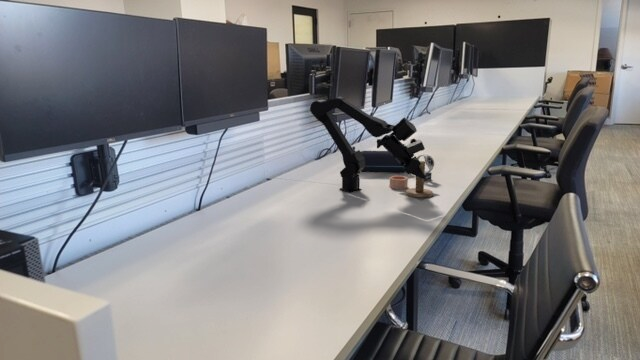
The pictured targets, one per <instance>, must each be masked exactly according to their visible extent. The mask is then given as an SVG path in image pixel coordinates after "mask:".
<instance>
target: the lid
mask: <svg viewBox="0 0 640 360" xmlns="http://www.w3.org/2000/svg"><path fill="white" fill-rule="evenodd" d="M419 161H420V162H421V164H420V165H419V167H420V169H421V170H422V172H423V173H424V174H425V171H426V163H425V160H424V161H422V160H419ZM424 184H425V181H424V179H422V178H420V177H417V176H415V187H414V188H413V187H412V188H408V189H406V190H405V192H406V194H407V195H408V196H411V197H417V198H427V197H431V196H432V195H433V193H434V192H433V191H432V190H431V189H427V188H425V185H424ZM411 197H410V198H411Z"/></svg>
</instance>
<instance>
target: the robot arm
mask: <svg viewBox="0 0 640 360" xmlns="http://www.w3.org/2000/svg"><path fill="white" fill-rule="evenodd" d="M334 109H338V110H340V111H341V112H342V113H344V114H346V115H347V116H349V117H351V118H352V119H353V120H355V122H358V123H359V124H361V125H362V127H363V128H364V129H365V130H366V131H367V132H368V133H369V134H370V135H371V136H372V137H374V138H376V139H377V140H376V148H377V149H379V148H380V147H383V148H384V149H385V151H388V152H389V153H390V154H391V155H392V156H393V157H394V158H395V159H396V160H397V161H398V162H399V163H400V164H401V166H403V165H404V171H405V173H406V174H407V175H408V176H409V175H411V176H415V177H416V176H417V177H420V178H422V179H425V178H426V177H425V175H424V173H423V172H422V170H421V169H420V167H419V165H420V164H421V162H420V161H421V160H420V159H419V160H418V159H417V157H418V156H416V155H415V154H417V153H419V152H422V151H424V150H425V146H424V143H423V141H422V140H421V139H415V137H413V138H411V139H410V143H408V144H407V145H406V144H405V143H403V142H406V141H407V140H408V139H409V138H410V137H412V136H413V135H415V133H417V131H418V130H417V127H416V126H415V125H414V123H412V122H410V120H408V119H407V118H406V117H403V118H402V119H400V121H399V122H397V123H396V124H395V125H394V124H390V123H388V122H387V121H386V120H384V119H382V118H379V117H376V116H372V115H370V114H368V113H366V112H365V111H363V110H362V109H360V108H359V107H357V106H356V105H355V104H354V103H351V102H350V101H349V100H347V99H346V98H345V97H343V96H338V97H334V99H329V100H327V99H326V100H325V99H319V100H314V101H313V102H312V103H311V104H310V107H309V111H310V113H311V114H312V116H313V117H314V118H315V119H316V120H318V122H320V123H321V124H322V125H323V126H324V127H325V128H324V129H326V131H327V132H328V134H329V136H330V137H331V139H332V140H333V142H334V144H335V146H336V147H337V148H338V150H339V152H340V153H341V155H342V162H343V165H344V168H343V169H342V170H340V172H339V174H340V177H341V187H340V188H339V191H342V192H344V193H350V194H351V193H355V192H359V191H362V190H363V189H362V188H360V187H361V186H360V182H361V181H360V174H361V173H362V172H361V170H362V169H363V168H364V167H365V160H364V159H365V158H364V157H363V156H362V154H361V151H360V149H358V150H355V149H353V147H352V145H351V144H350V143H349V141H348V139H347V138H346V136H345V135H344V133H343V131H342V129H341V127H340V126H339V125H338V123H337V121H336V119H335V118H334V114H333V110H334ZM382 136H383V137H382ZM380 137H381V138H380ZM378 138H379V139H378ZM401 141H403V142H401Z"/></svg>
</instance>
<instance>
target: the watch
mask: <svg viewBox="0 0 640 360" xmlns="http://www.w3.org/2000/svg"><path fill="white" fill-rule="evenodd" d="M416 157H417V159H418V160H419V161H420V159H421V157H423V159H424V162H425V166H427V167H428V170H427V171H426V170H425V174H424V175H425V177H426V178H425V179H424V182H427V181H432V174H433V173H432V171H433V169H434V166H435V160H434V158H433V157H432V156H431V155H429V154H425V153H424V154H420V155H418V156H416Z"/></svg>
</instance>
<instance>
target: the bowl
mask: <svg viewBox="0 0 640 360" xmlns="http://www.w3.org/2000/svg"><path fill="white" fill-rule="evenodd" d="M408 183H409V178H408V177H407V176H405V175H404V176H403V175H393V176H390V177H389V184H388V185H389V188H391V189H395V190H403V189H404V190H405V189H407V188H408V185H409V184H408Z"/></svg>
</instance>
